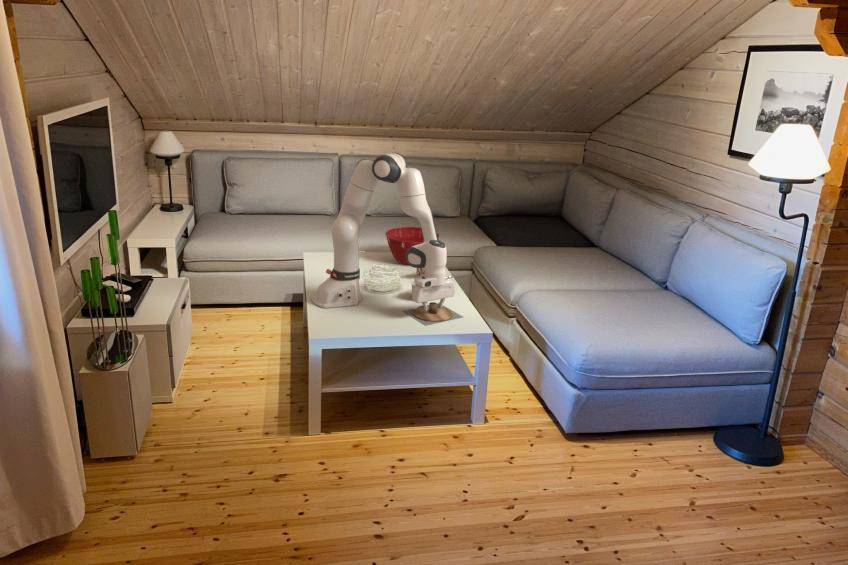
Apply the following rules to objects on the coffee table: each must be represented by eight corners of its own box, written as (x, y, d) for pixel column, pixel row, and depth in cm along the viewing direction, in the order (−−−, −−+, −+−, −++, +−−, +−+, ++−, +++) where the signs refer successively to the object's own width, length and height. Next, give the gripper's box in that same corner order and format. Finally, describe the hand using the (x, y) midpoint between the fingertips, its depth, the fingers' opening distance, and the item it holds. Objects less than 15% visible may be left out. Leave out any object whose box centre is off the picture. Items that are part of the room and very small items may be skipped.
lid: (427, 324, 276) (428, 313, 275) (405, 310, 289) (406, 300, 288) (460, 317, 286) (461, 306, 284) (437, 304, 299) (438, 294, 297)
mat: (425, 326, 275) (425, 325, 275) (402, 311, 289) (402, 311, 289) (463, 318, 286) (463, 317, 286) (439, 304, 300) (439, 303, 300)
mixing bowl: (433, 272, 342) (435, 243, 337) (379, 266, 346) (380, 238, 341) (440, 256, 369) (442, 229, 363) (390, 251, 372) (391, 224, 367)
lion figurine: (422, 282, 327) (423, 264, 324) (413, 279, 330) (414, 262, 327) (436, 274, 340) (437, 257, 337) (427, 272, 342) (428, 255, 339)
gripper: (450, 272, 290) (448, 302, 295) (411, 279, 279) (409, 310, 284) (459, 277, 285) (456, 307, 290) (419, 284, 274) (417, 315, 279)
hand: (433, 308), depth 287 cm, fingers open, 6 cm apart
